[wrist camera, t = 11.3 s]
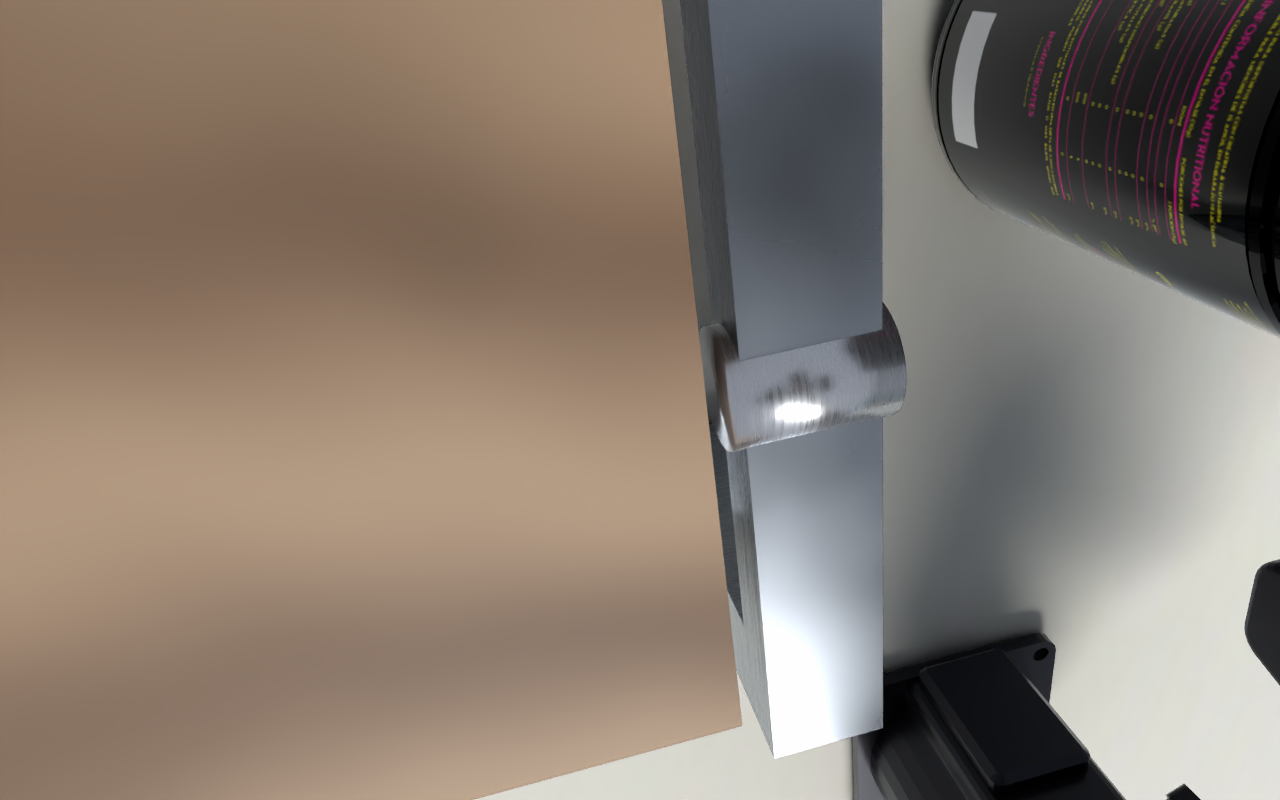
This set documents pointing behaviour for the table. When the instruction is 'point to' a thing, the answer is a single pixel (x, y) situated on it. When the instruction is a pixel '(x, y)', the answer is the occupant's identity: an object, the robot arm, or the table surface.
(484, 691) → the trapdoor
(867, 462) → the trapdoor stand
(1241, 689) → the table surface
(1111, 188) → the supplement container
